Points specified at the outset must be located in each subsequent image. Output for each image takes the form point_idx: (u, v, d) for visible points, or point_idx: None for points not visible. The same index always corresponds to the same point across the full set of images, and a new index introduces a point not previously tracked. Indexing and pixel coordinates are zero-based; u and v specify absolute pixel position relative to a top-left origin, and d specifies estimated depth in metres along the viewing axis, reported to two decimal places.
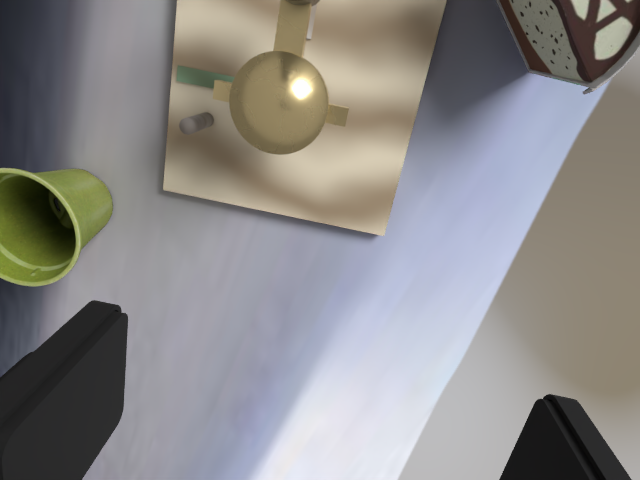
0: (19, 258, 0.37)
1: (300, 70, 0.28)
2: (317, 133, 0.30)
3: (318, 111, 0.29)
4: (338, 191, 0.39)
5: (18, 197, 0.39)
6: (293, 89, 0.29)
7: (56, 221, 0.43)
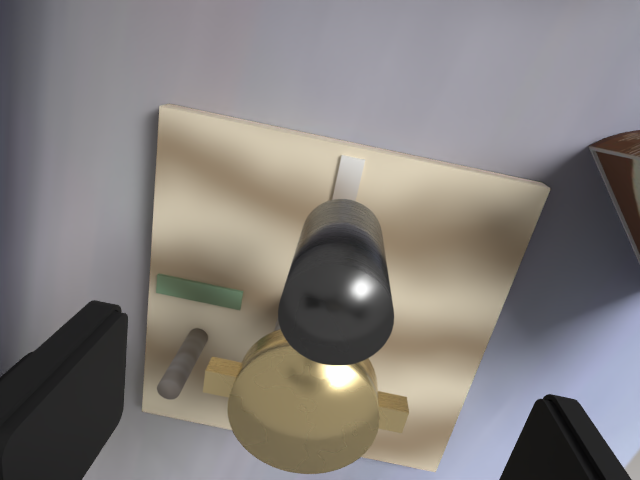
0: None
1: (338, 378, 0.18)
2: (361, 453, 0.20)
3: (364, 428, 0.19)
4: None
5: None
6: (326, 400, 0.19)
7: None
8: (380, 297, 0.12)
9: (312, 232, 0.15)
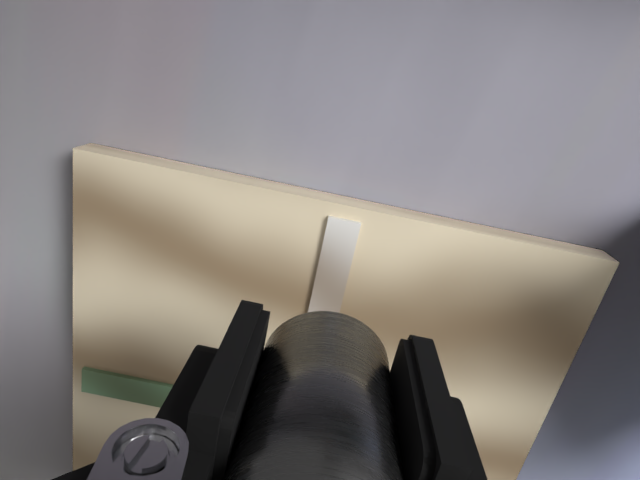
0: None
1: None
2: None
3: None
4: None
5: None
6: None
7: None
8: None
9: (267, 402, 0.08)
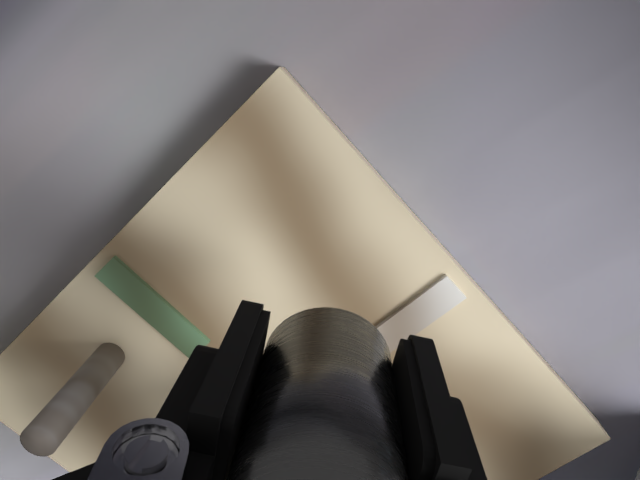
0: None
1: None
2: None
3: None
4: None
5: None
6: None
7: None
8: None
9: (280, 394, 0.08)
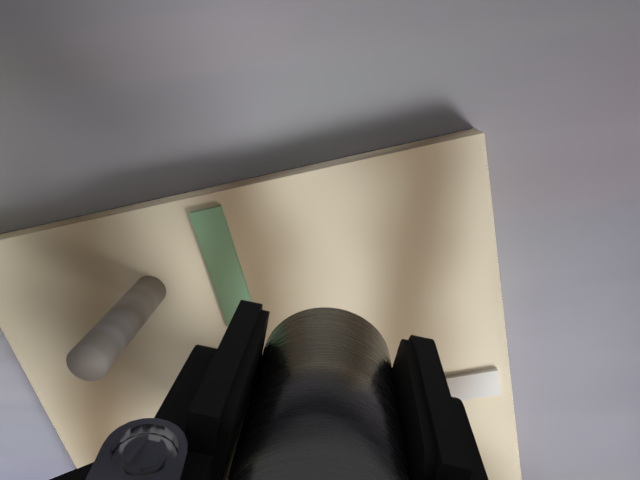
0: None
1: None
2: None
3: None
4: None
5: None
6: None
7: None
8: None
9: (281, 395, 0.08)
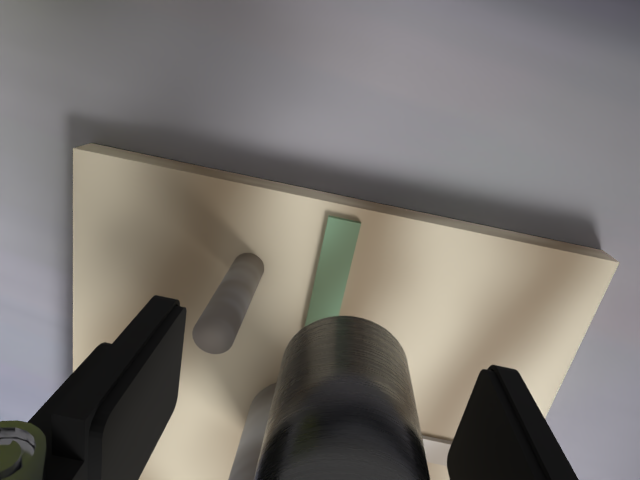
0: None
1: None
2: None
3: None
4: None
5: None
6: None
7: None
8: None
9: (299, 406, 0.08)
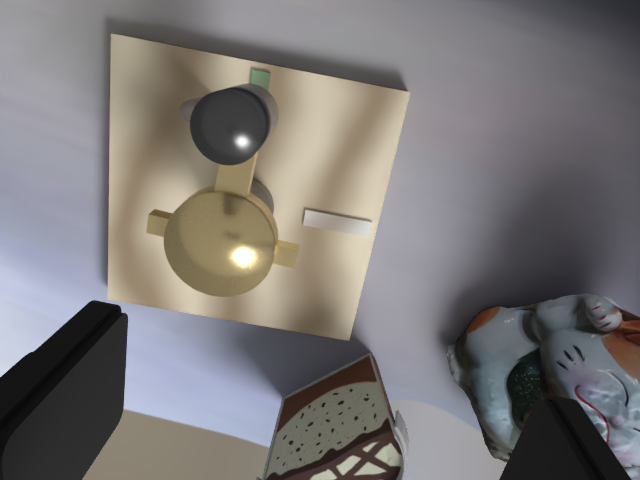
0: None
1: (244, 215, 0.25)
2: (262, 278, 0.27)
3: (263, 256, 0.26)
4: (148, 253, 0.35)
5: None
6: (236, 233, 0.26)
7: None
8: (253, 114, 0.20)
9: None
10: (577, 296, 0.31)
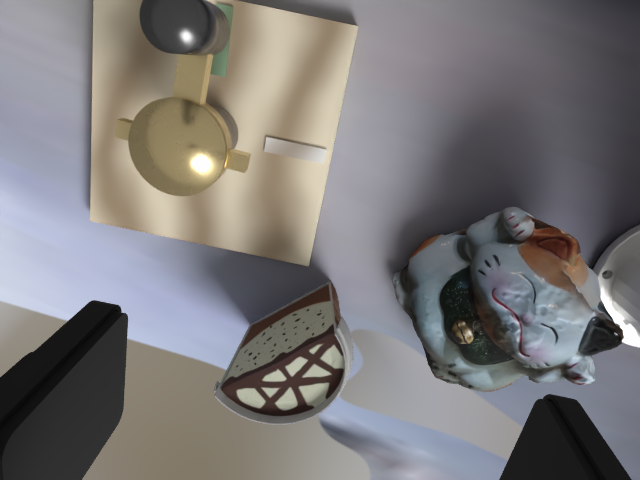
0: None
1: (197, 118, 0.29)
2: (214, 178, 0.30)
3: (215, 158, 0.30)
4: (126, 177, 0.39)
5: None
6: (191, 135, 0.29)
7: None
8: (192, 6, 0.23)
9: None
10: (499, 212, 0.34)
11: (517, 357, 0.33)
